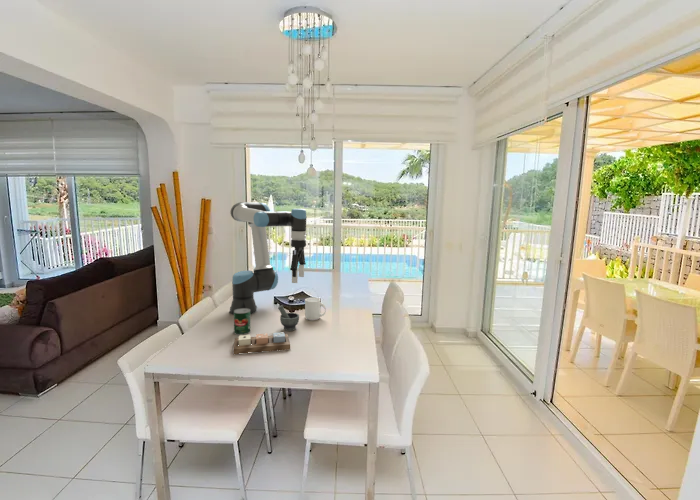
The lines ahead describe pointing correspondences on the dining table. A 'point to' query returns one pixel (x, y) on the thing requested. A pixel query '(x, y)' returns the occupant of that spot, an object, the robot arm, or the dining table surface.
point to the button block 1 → (244, 340)
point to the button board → (261, 345)
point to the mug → (313, 308)
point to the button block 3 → (278, 337)
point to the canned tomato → (242, 321)
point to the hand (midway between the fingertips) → (298, 279)
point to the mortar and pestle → (288, 319)
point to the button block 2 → (261, 338)
